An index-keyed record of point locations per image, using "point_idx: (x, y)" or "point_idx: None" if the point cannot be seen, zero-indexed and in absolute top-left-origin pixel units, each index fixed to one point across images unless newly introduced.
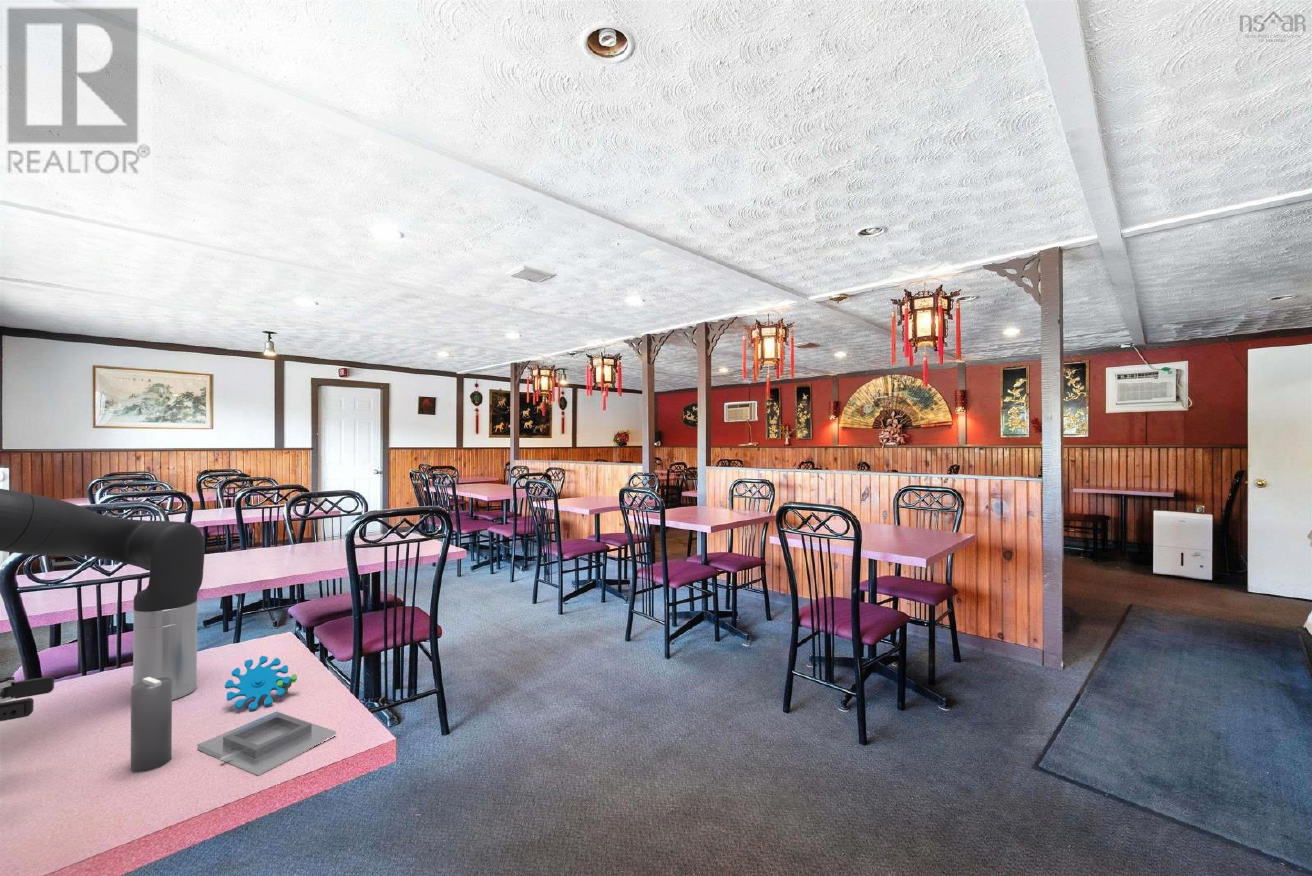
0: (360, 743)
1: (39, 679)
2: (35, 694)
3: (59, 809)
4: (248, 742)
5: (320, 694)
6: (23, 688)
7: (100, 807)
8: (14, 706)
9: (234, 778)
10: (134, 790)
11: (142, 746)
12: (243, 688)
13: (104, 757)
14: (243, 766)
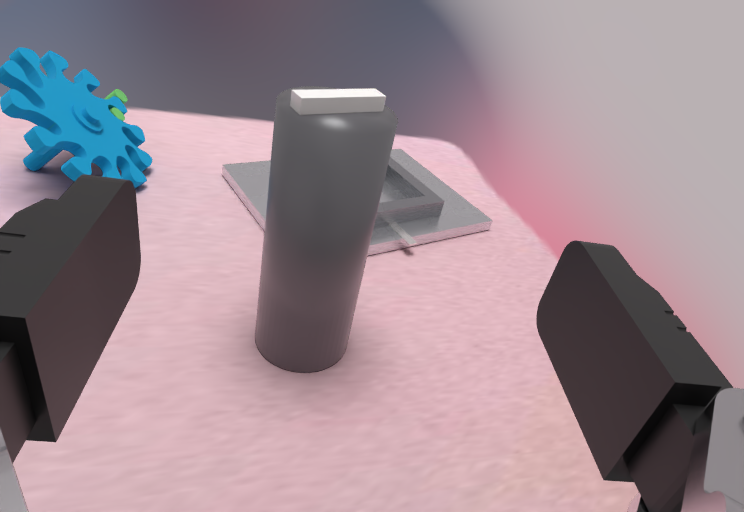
0: (443, 151)
1: (104, 210)
2: (105, 331)
3: (467, 502)
4: (400, 201)
5: (171, 126)
6: (67, 329)
7: (500, 416)
8: (665, 301)
9: (480, 249)
10: (443, 364)
11: (357, 295)
12: (84, 142)
13: (131, 433)
14: (454, 232)
